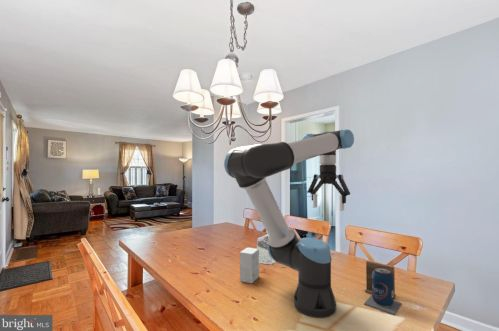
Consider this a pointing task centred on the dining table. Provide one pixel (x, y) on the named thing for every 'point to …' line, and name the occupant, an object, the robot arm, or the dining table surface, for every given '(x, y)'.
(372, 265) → the walnut screen
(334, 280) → the dining table surface
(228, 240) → the dining table surface
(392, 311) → the pad
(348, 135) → the robot arm
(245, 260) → the small box
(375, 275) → the soda can
